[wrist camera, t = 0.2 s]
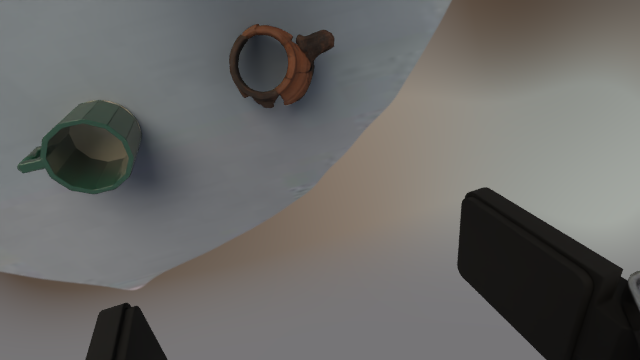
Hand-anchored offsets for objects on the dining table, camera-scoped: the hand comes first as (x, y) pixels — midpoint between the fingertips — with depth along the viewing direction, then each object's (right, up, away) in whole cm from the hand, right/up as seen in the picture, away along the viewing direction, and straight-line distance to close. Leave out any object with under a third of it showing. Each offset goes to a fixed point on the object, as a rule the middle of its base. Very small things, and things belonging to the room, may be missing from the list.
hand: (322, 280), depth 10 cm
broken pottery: (-5, +17, +33) cm, 37 cm away
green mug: (-25, +8, +29) cm, 40 cm away
